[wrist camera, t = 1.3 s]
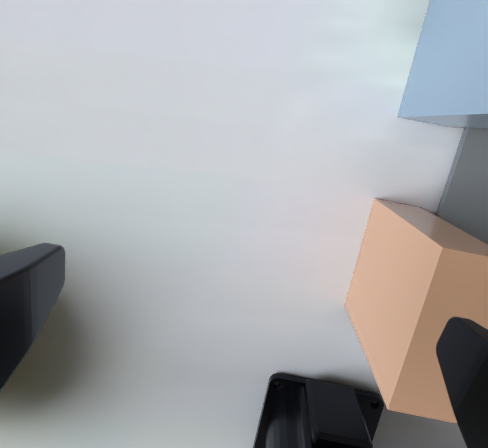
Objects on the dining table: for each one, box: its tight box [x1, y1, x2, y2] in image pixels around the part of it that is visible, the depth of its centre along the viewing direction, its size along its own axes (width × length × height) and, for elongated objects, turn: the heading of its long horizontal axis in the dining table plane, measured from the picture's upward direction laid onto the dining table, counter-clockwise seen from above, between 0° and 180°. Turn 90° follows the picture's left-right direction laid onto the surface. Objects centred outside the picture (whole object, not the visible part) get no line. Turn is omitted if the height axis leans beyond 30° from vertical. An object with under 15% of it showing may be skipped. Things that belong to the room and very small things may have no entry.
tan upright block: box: [344, 198, 488, 424], centre depth 17 cm, size 6×3×8 cm, turn 169°
